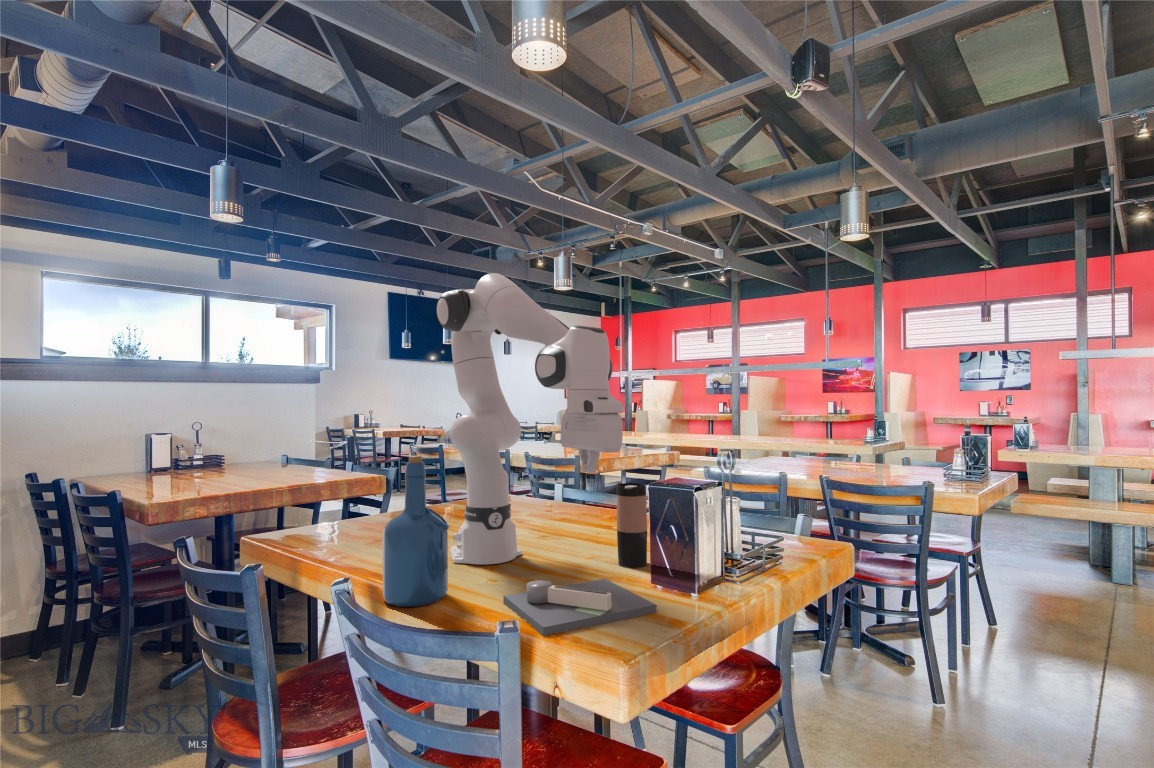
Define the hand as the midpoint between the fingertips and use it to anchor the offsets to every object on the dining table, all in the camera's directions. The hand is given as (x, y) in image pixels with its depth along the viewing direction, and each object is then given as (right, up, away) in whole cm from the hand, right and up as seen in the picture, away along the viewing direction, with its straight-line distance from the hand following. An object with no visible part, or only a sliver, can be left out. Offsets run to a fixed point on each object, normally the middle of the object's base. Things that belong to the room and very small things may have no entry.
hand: (589, 472), depth 120 cm
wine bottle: (-36, -28, +5) cm, 46 cm away
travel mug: (+12, -28, +30) cm, 42 cm away
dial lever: (-4, -25, -6) cm, 26 cm away
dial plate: (-2, -27, -2) cm, 27 cm away
